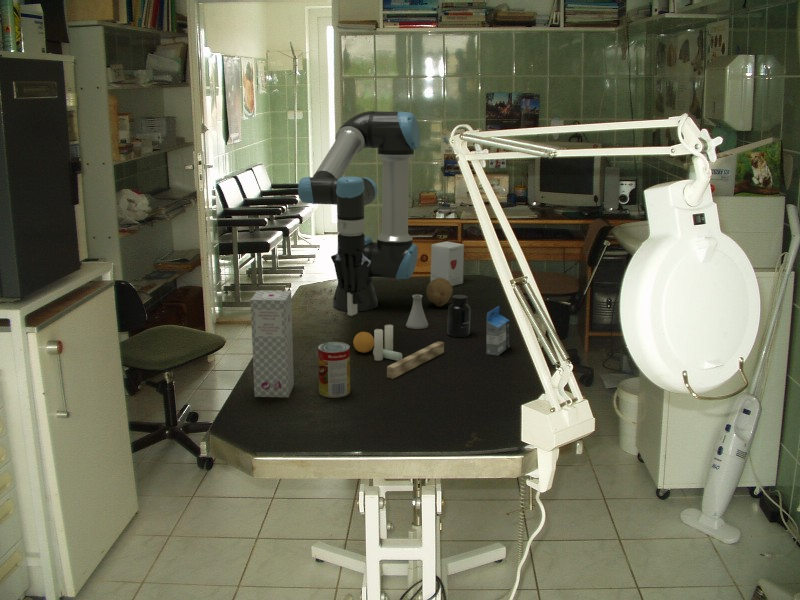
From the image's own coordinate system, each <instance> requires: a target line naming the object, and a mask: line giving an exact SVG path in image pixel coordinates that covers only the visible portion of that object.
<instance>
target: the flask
mask: <svg viewBox="0 0 800 600" xmlns="http://www.w3.org/2000/svg"><path fill="white" fill-rule="evenodd" d="M411 296H412V306H411V310H410V312H409V316H408V317H407V318H408V319H407V321H406V324H405V327H406V328H407V329H412V330H413V329H414V330H421V329H423V330H424V329H427V328H428V327H429V323H428V320H427V316H426V314H425V311H424V308H423V304H422V299H423V297H424V296H423V295H422V294H412V295H411Z"/></svg>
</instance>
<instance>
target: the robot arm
mask: <svg viewBox="0 0 800 600" xmlns="http://www.w3.org/2000/svg"><path fill="white" fill-rule="evenodd" d="M418 122H419V121H418V120H417V117H416V115H415V114H414V113H412V112H410V111H409V112H408V111H406V112H405V111H400V110H399V111H384V110H383V111H382V110H381V111H380V110H379V111H375V110H367V111H363V112H360V113H358V114H355V115H354V116H352V117H350V118H349V119H348V120H346V121H345V122H344V123H343V124H342V125H341V126H340V127H339V129H338V130H337V131H336V133H335V138H334V139H335V141H334V142H333V144H332V146H331V147H330V149H329V150H328V152H327V153H326V155H325V156H324V158H323V160H322V161H321V163H320V165H319V166H318V168H317V169H316V171H315V173H314V174H313V176H305V177H304V176H303V177H301V178H300V179H299V181H298V185H297V192H298V193H297V194H298V198H299V200H300V202H302V203H304V204H311V205H334V206H335V205H336V213H337V214H336V216H337V218H336V220H337V233H338V234H337V253H336V254H334V255H331V256H330V258H331V260H332V263H333V264H334V270H335V274H336V280H337V285H336V289H335V292H334V294H333V298H332V306H333V308H334V309H337V310H339V311H345V312H347V316H354V315H357V314H358V312H365V311H369V310H370V311H371V310H373V309H376V308H377V307H378V302H379V301H378V297H377V293H376V291H375V287H374V285H373V278H380V279H381V278H382V279H383V278H384V279H394V280H407V279H410V278H411V277H412V276H413V274H414V271H415V269H416V266H417V262H418V255H419V249H418V245H417V244H415V243H413V237H412V236H411V234H409V195H410V194H409V190H410V187H409V186H410V183H409V180H410V177H409V175H410V174H409V173H410V160H411V158H412V157H413V156H414V154H415V150H416V151H417V150H418V149H419V147H420V139H421V137H420V136H421V134H420V127H419V123H418ZM368 148H369V149H377V156H378V157H380V159H381V161H382V165H381V166H382V172H381V173H382V174H381V175H382V177H381V179H382V181H381V182H382V184H381V185H382V187H381V188H382V189H381V201H382V202H381V207H382V208H381V234H380V235H379V236H377V239H376V242H374V241H373V240H374V239H373V238H372V237H371V236H367V235H365V233H364V232H365V231H366V230H365V229H366V228H365V207H366V206H367V205H369V204H371V203H372V202H373V201H374V200H375V199H376V198H377V195H378V186H377V184H376V183H375V182H376V181H374V180H373V179H372V178H369V177H360V176H344V175H345V174H346V172H347V170H348V168H349V167H350V165H351V163H352V162H353V160H354V158H355V156H356V154H358V153H359V154H360V152H362V150H363V149H368Z"/></svg>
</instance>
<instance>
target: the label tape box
mask: <svg viewBox="0 0 800 600" xmlns="http://www.w3.org/2000/svg"><path fill="white" fill-rule="evenodd" d="M500 307H501V306H500V305H498V306H496V307H494V308H493V309H491V310H490V311H488V312H487V313H486V336H485V337H486V339H485V340H486V345H485V346H486V347H485V348H486V351H485V353H486V355H491V356H498V357H499V356H500V355H501V354H502V353H504V352H505V351H506V350H508V349H509V348H510V346H511V345H510V344H511V343H510V342H511V339H510V337H511V330H510V329H511V327H510V326H511V324H510V323H511V321H510V319H508V318H506V317H505V316H503V315H501V314H500V313H499V312H500Z"/></svg>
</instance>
